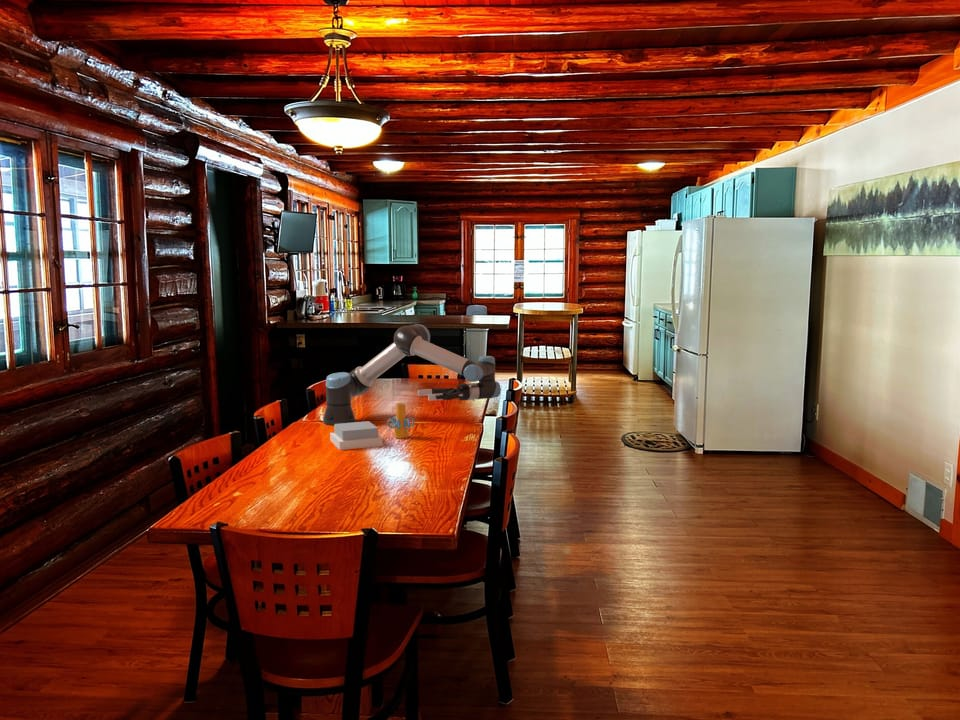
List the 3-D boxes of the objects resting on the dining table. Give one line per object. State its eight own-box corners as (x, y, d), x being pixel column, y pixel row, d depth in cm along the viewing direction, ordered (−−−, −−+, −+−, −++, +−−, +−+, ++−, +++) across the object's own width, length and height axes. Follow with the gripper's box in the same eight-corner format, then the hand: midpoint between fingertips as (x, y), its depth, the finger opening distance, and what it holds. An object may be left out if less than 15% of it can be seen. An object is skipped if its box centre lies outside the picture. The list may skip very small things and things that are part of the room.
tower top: (334, 433, 309) (334, 424, 309) (368, 430, 315) (368, 421, 315) (342, 440, 295) (342, 431, 295) (378, 437, 302) (378, 428, 301)
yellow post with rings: (408, 440, 310) (408, 406, 308) (385, 439, 312) (384, 405, 310) (416, 434, 322) (416, 401, 320) (394, 433, 324) (393, 400, 322)
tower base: (330, 442, 310) (330, 432, 310) (371, 438, 317) (370, 429, 317) (339, 451, 294) (339, 441, 293) (382, 447, 301) (382, 437, 301)
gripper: (478, 404, 316) (432, 408, 307) (457, 395, 338) (414, 399, 330) (478, 387, 315) (432, 391, 306) (457, 380, 337) (414, 383, 329)
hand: (423, 395), depth 318 cm, fingers open, 13 cm apart
